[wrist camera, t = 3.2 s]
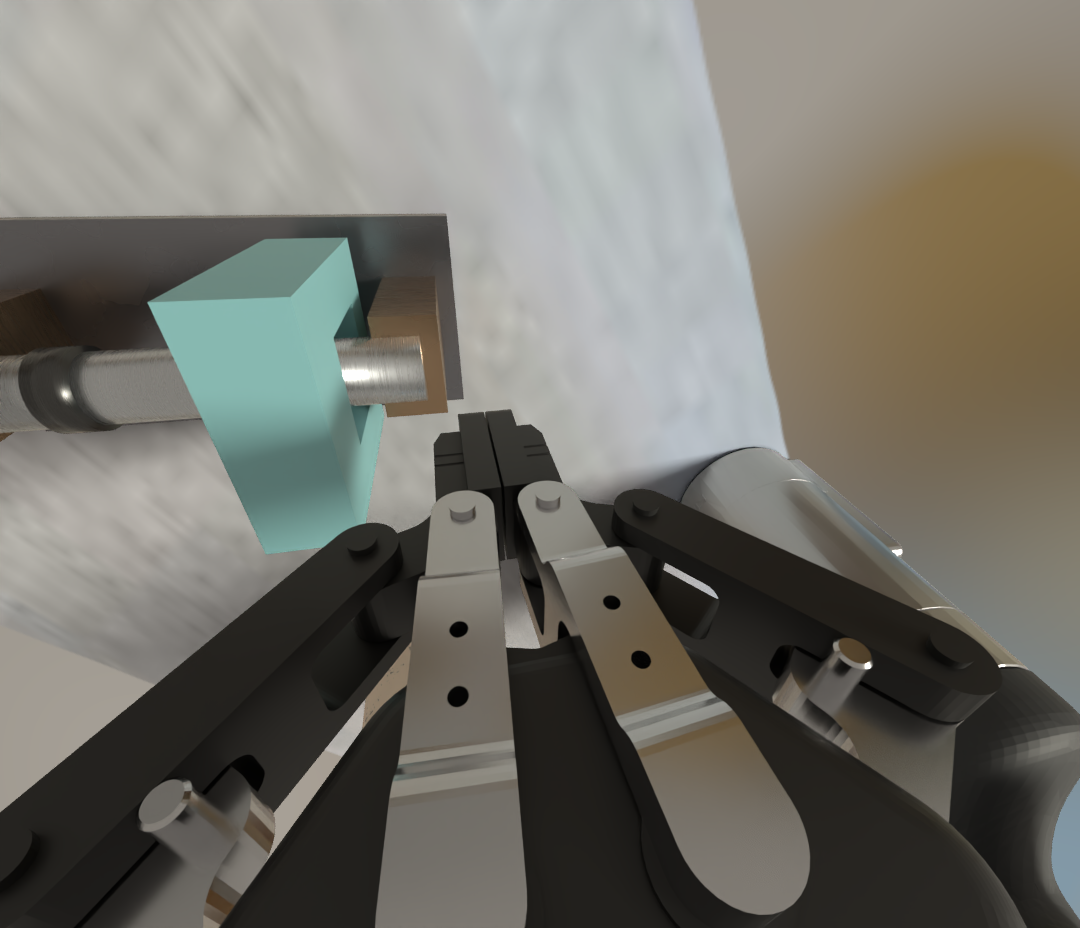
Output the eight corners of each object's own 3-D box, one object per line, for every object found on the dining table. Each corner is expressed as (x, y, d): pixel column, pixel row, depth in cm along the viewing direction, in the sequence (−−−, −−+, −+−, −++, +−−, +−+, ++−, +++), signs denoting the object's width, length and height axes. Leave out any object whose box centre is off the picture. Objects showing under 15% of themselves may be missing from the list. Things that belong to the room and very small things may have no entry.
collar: (347, 237, 18) (290, 297, 11) (384, 415, 22) (362, 542, 15) (265, 239, 17) (147, 302, 10) (320, 420, 22) (266, 554, 15)
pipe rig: (446, 213, 21) (453, 244, 14) (462, 392, 26) (474, 479, 19) (-83, 218, 17) (-413, 262, 11) (57, 423, 22) (-105, 541, 16)
